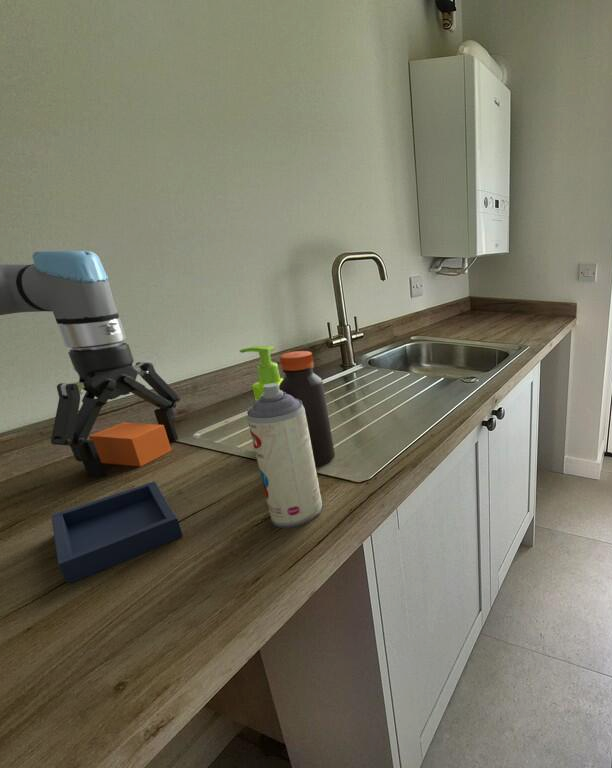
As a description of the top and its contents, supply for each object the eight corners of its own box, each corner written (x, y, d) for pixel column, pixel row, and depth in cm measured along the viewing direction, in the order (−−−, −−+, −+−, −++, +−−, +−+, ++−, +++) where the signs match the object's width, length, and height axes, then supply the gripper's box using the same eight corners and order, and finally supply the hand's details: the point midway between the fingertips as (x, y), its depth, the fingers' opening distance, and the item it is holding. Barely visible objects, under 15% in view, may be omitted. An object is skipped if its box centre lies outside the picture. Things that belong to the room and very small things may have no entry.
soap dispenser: (272, 438, 83) (251, 343, 77) (305, 438, 83) (287, 343, 77) (254, 452, 78) (230, 350, 71) (290, 452, 78) (269, 351, 71)
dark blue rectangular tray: (59, 533, 56) (51, 514, 55) (160, 497, 64) (154, 480, 63) (67, 585, 48) (58, 564, 47) (183, 536, 56) (177, 518, 55)
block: (98, 463, 74) (88, 435, 73) (132, 447, 80) (123, 421, 78) (140, 466, 73) (131, 439, 71) (171, 450, 79) (163, 424, 77)
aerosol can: (273, 505, 62) (244, 381, 55) (322, 494, 65) (300, 374, 58) (269, 533, 56) (236, 397, 50) (323, 519, 59) (298, 389, 52)
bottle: (291, 457, 76) (270, 353, 70) (330, 447, 80) (313, 347, 73) (298, 472, 71) (276, 362, 64) (339, 461, 75) (321, 355, 68)
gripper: (23, 366, 57) (77, 495, 64) (183, 331, 81) (210, 428, 88) (-19, 365, 59) (38, 492, 65) (151, 330, 82) (180, 426, 89)
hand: (137, 455), depth 77 cm, fingers open, 13 cm apart
